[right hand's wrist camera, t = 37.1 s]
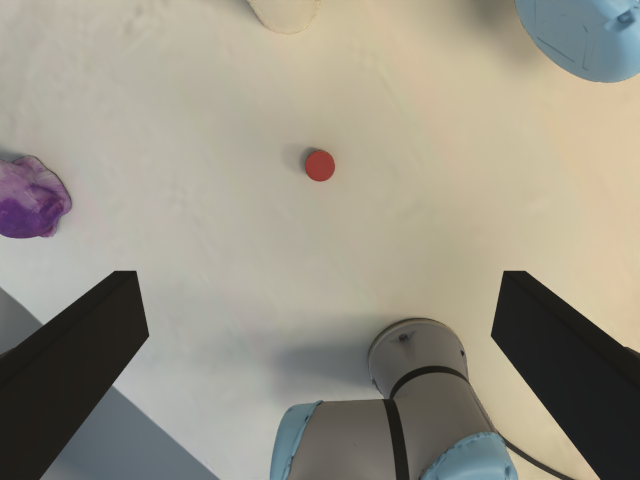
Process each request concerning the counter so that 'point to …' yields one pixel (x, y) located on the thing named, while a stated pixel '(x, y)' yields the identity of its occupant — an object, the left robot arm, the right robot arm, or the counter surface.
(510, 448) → the right robot arm
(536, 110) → the counter surface
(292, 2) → the bottle
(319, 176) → the cap
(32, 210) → the figurine
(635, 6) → the left robot arm
